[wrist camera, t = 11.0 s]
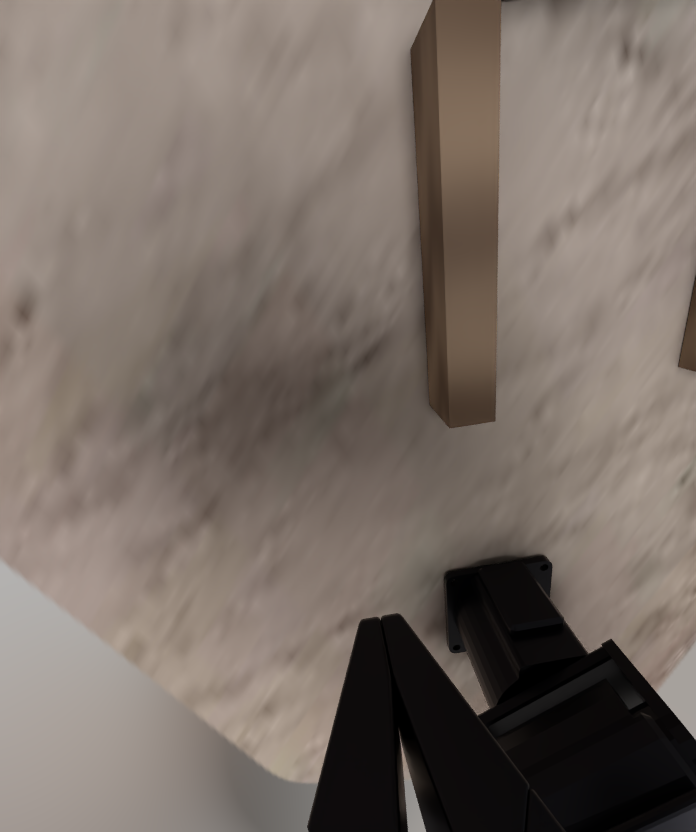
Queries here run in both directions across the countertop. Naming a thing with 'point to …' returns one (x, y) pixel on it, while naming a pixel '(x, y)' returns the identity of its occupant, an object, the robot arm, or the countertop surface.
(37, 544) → the countertop surface
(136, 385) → the countertop surface
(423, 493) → the countertop surface
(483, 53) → the walnut chute
